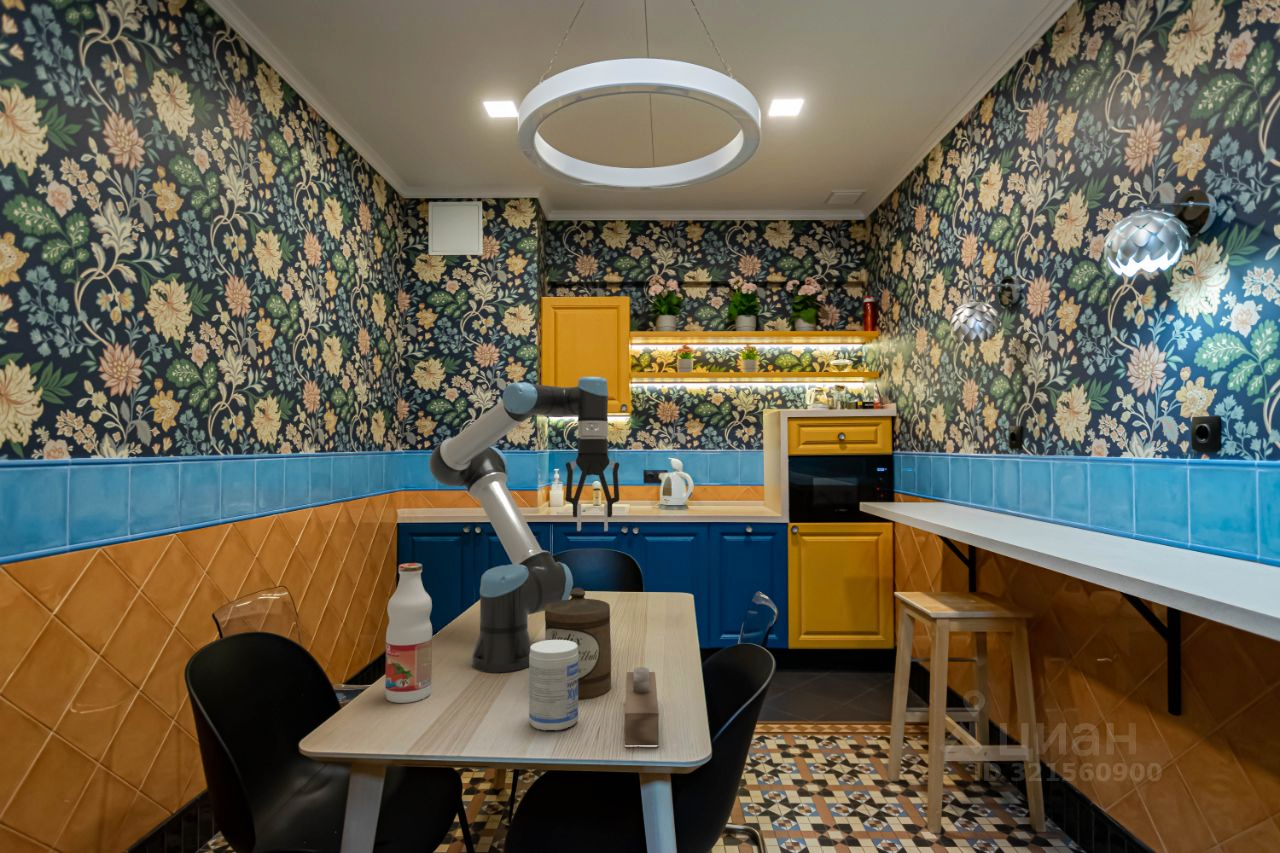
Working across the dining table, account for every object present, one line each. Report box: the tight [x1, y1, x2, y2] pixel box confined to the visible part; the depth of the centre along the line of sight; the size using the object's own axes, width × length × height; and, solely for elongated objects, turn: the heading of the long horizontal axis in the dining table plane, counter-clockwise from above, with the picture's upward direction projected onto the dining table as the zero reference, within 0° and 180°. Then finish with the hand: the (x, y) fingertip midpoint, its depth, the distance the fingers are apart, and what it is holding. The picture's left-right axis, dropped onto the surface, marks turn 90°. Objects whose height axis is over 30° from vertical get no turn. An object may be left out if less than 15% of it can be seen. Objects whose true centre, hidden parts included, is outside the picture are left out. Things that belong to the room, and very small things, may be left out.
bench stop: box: [624, 666, 660, 746], centre depth 127 cm, size 6×22×10 cm, turn 0°
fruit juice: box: [384, 562, 433, 704], centre depth 142 cm, size 9×9×28 cm
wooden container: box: [544, 587, 612, 700], centre depth 147 cm, size 15×15×22 cm
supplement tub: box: [528, 640, 579, 731], centre depth 127 cm, size 10×10×15 cm
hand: (592, 530), depth 165 cm, fingers open, 6 cm apart
